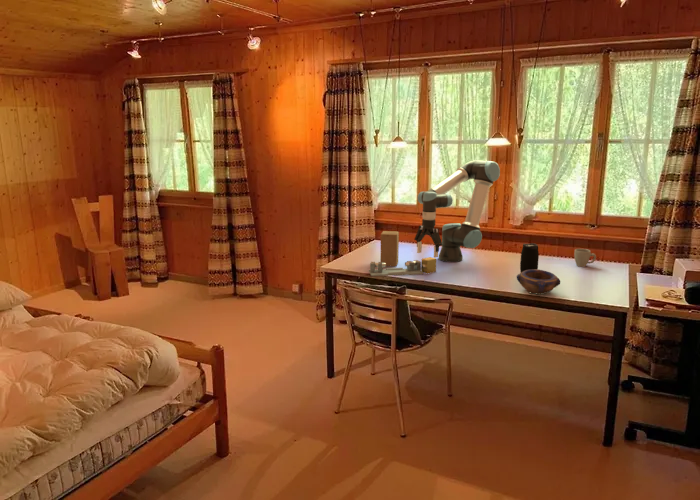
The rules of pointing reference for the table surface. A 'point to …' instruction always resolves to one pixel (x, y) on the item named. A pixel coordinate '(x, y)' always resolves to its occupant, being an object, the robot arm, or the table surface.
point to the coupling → (428, 265)
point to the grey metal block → (413, 265)
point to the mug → (583, 257)
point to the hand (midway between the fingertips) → (427, 255)
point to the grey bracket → (379, 265)
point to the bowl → (538, 281)
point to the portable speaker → (529, 257)
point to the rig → (395, 272)
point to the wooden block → (389, 247)
